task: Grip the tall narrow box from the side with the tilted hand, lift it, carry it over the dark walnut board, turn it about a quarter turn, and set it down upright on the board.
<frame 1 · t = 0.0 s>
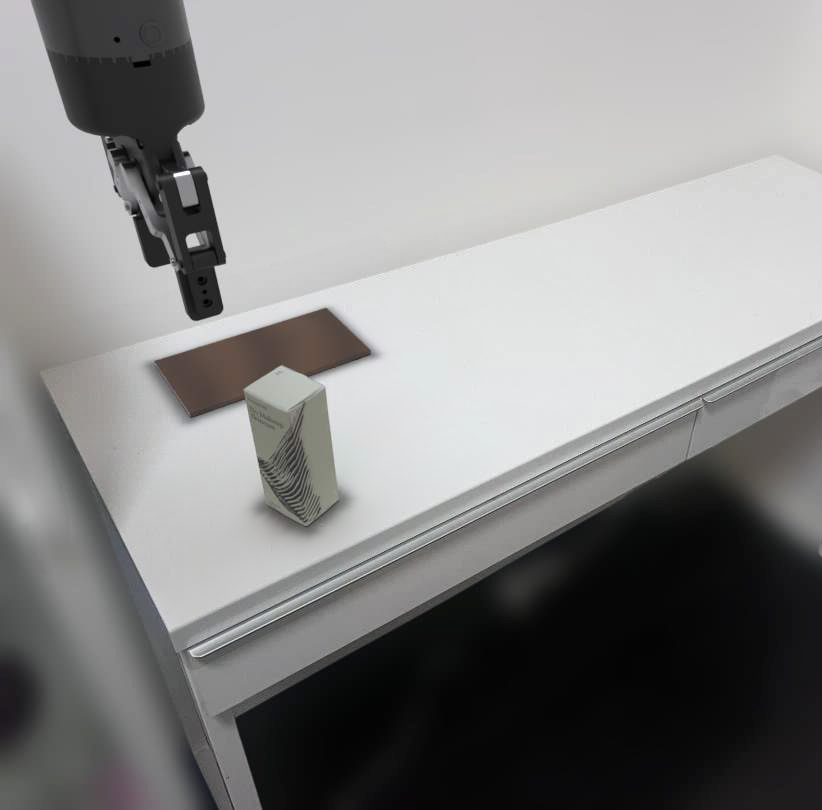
hand: (183, 288, 55), 23 cm above the table, tool pointing down, fingers open, 8 cm apart
walnut board: (265, 359, 88), on the table
box: (305, 504, 71), on the table
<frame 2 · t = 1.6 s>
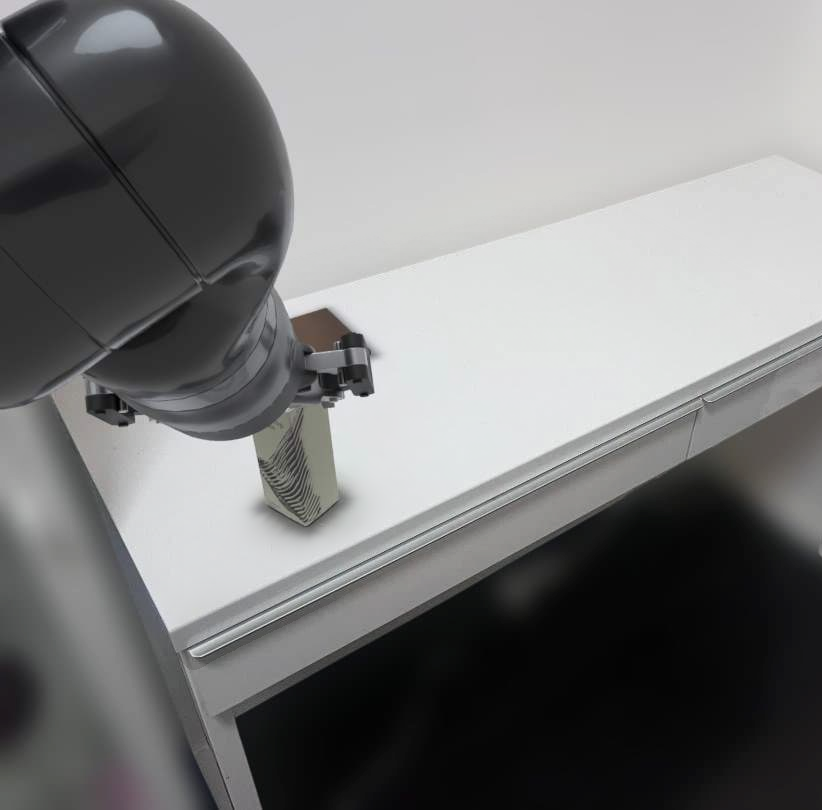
hand: (257, 400, 51), 20 cm above the table, tool tilted 45°, fingers open, 8 cm apart
nothing on the table moved.
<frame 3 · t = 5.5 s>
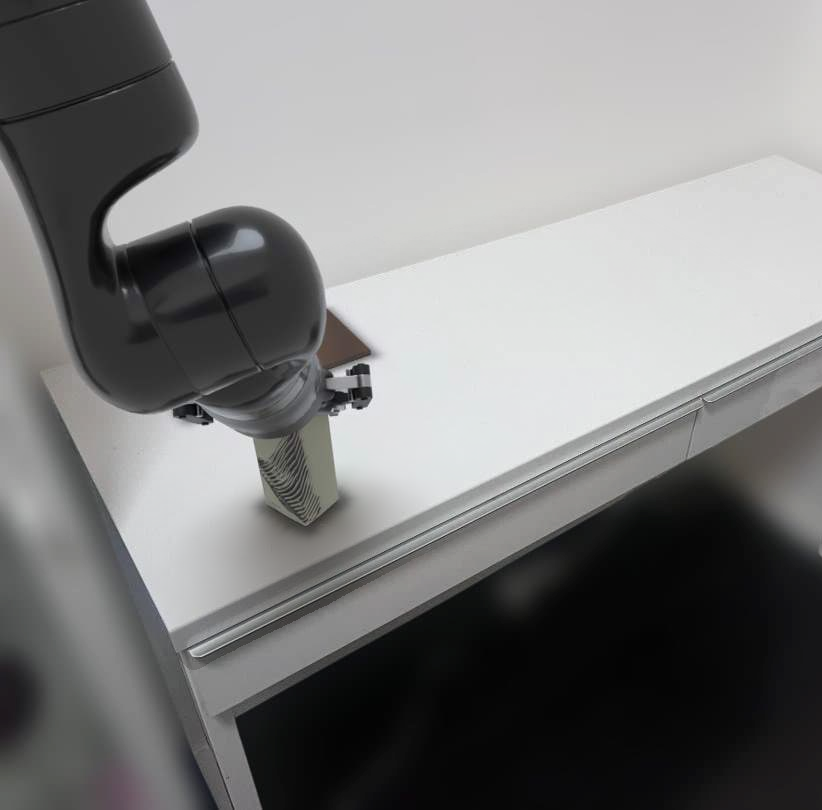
hand: (289, 408, 67), 9 cm above the table, tool tilted 45°, fingers closed on box, 6 cm apart
box: (305, 504, 71), on the table, touching gripper
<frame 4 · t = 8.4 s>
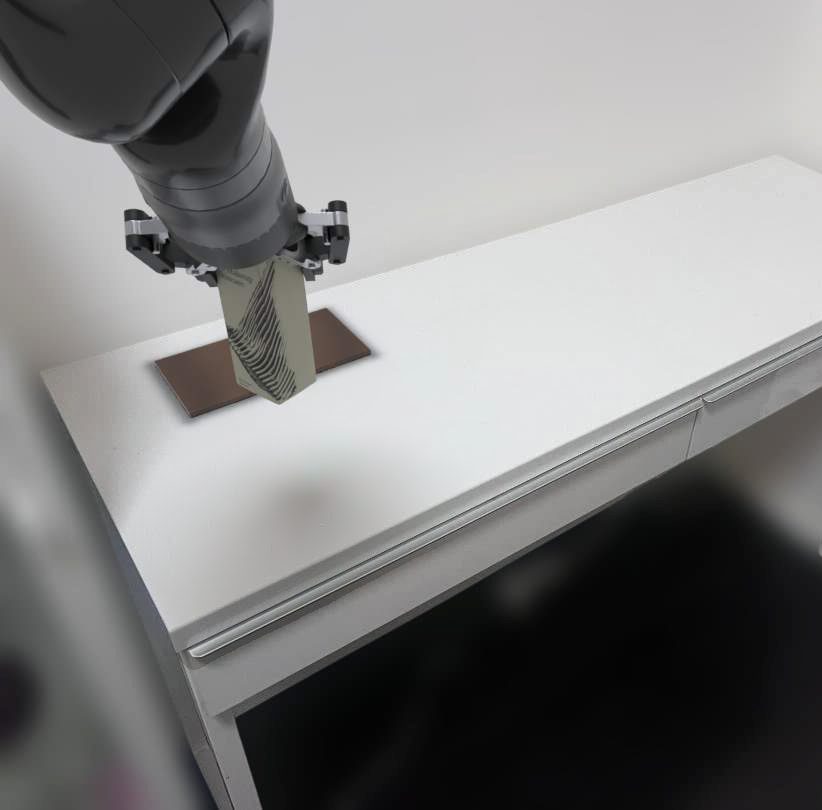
hand: (262, 271, 61), 21 cm above the table, tool tilted 45°, fingers closed on box, 6 cm apart
box: (279, 386, 66), point 12 cm above the table, touching gripper
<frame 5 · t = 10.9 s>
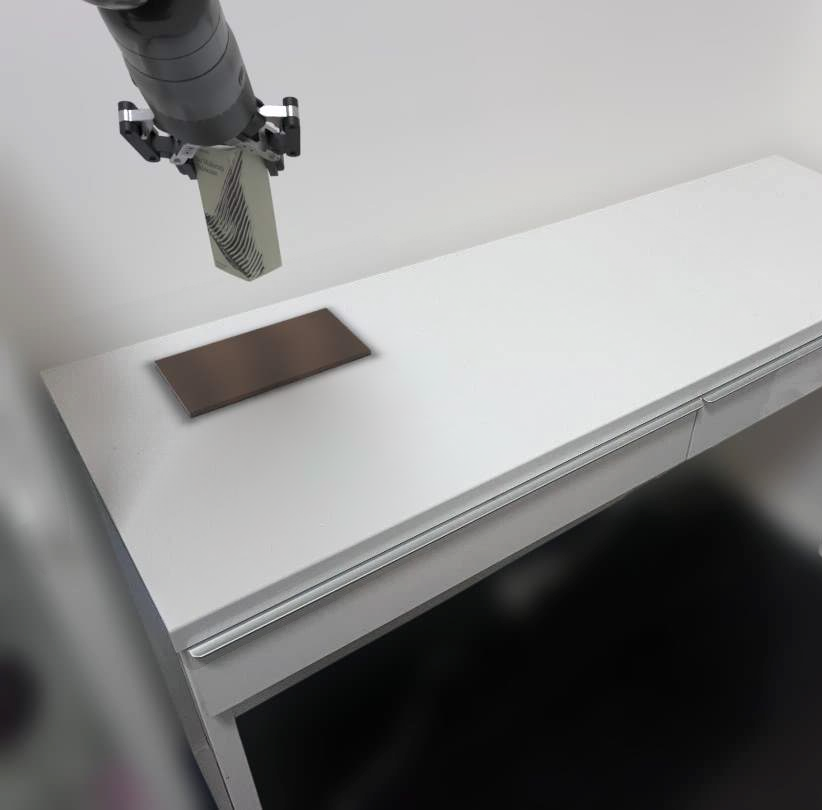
hand: (234, 168, 74), 22 cm above the table, tool tilted 45°, fingers closed on box, 6 cm apart
box: (251, 270, 78), point 13 cm above the table, touching gripper
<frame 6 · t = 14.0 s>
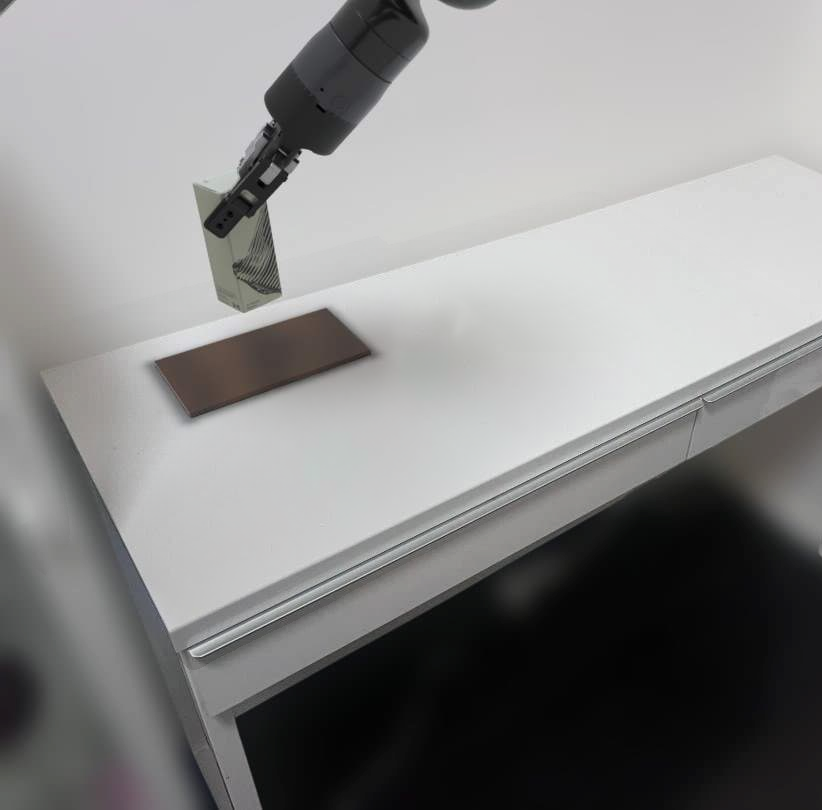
hand: (219, 215, 78), 17 cm above the table, tool tilted 45°, fingers closed on box, 6 cm apart
box: (252, 300, 84), point 8 cm above the table, touching gripper
when the fingers open (10 cm above the table, at t = 16.5 s): box stays where it is, resting on walnut board.
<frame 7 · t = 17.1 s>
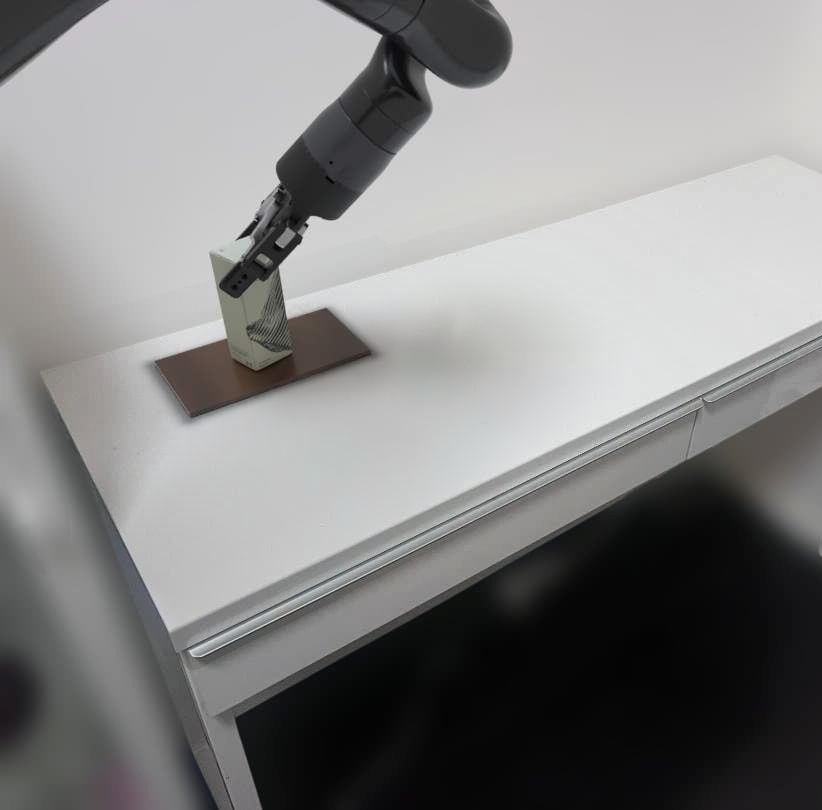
hand: (234, 270, 82), 11 cm above the table, tool tilted 45°, fingers open, 8 cm apart
box: (263, 357, 88), resting on walnut board
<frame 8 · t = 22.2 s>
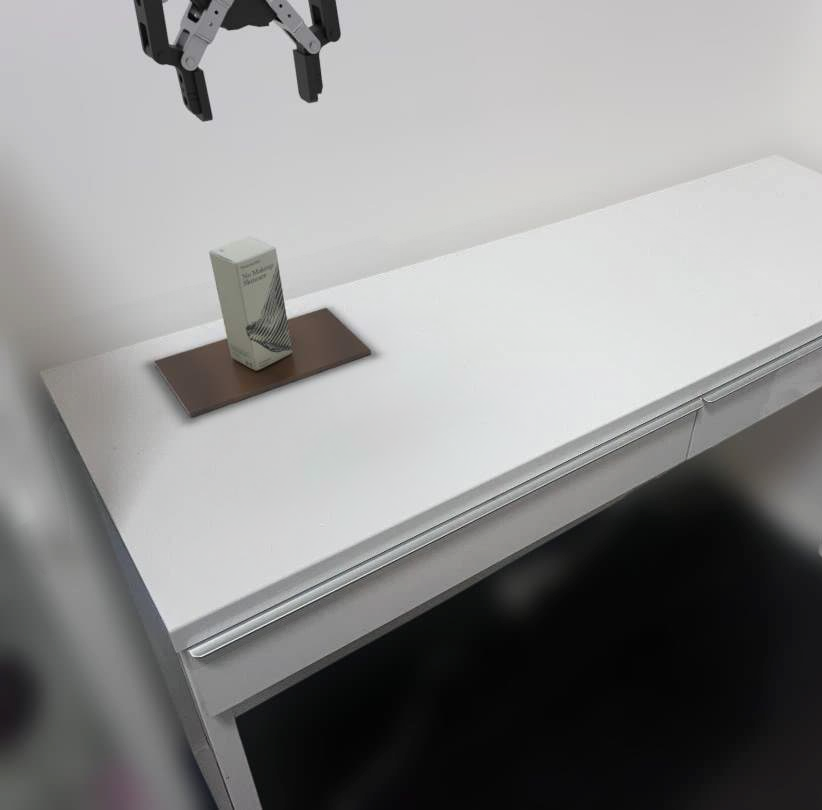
hand: (257, 109, 63), 30 cm above the table, tool pointing down, fingers open, 8 cm apart
nothing on the table moved.
at the end: box inside the target area on the walnut board (0.1 cm from its centre), point 0.4 cm above the walnut board's base; box tilted 0°; the gripper is holding nothing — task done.
